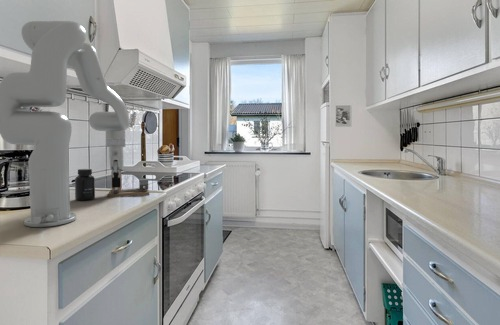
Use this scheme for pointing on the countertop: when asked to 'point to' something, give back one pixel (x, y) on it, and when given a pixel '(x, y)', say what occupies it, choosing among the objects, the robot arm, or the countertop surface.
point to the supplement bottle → (84, 185)
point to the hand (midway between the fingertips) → (116, 185)
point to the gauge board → (132, 190)
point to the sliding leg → (120, 183)
